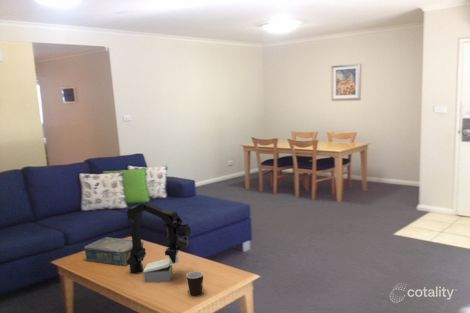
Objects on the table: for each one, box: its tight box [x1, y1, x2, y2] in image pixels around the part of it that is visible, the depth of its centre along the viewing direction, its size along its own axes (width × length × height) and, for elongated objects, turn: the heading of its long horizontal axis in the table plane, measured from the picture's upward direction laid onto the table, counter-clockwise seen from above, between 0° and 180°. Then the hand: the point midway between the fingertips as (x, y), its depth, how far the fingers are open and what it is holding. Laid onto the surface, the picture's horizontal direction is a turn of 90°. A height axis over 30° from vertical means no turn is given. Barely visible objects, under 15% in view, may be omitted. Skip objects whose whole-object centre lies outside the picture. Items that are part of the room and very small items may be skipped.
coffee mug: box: [186, 270, 204, 297], centre depth 219 cm, size 12×9×10 cm
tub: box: [143, 264, 174, 283], centre depth 238 cm, size 14×9×6 cm, turn 87°
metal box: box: [83, 236, 144, 267], centre depth 275 cm, size 21×32×10 cm, turn 66°
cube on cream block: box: [142, 254, 180, 273], centre depth 237 cm, size 19×10×4 cm, turn 87°
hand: (174, 261), depth 236 cm, fingers closed on cube on cream block, 3 cm apart
